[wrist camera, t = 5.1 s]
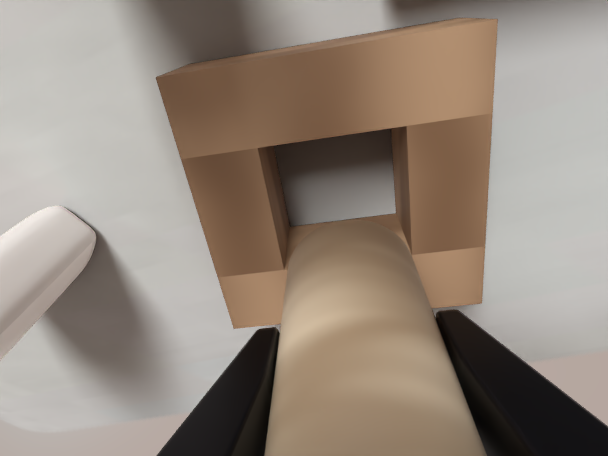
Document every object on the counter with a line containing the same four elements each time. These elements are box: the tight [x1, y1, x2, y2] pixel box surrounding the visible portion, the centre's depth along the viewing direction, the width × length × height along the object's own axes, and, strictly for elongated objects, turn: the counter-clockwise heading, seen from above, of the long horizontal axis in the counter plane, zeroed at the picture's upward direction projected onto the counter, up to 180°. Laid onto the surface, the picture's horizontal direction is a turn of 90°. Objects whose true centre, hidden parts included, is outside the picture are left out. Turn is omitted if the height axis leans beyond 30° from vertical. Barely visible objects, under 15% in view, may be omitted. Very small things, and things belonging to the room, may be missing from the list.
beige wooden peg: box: [265, 219, 487, 456], centre depth 7 cm, size 3×3×7 cm
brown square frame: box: [156, 18, 498, 329], centre depth 16 cm, size 10×10×4 cm
